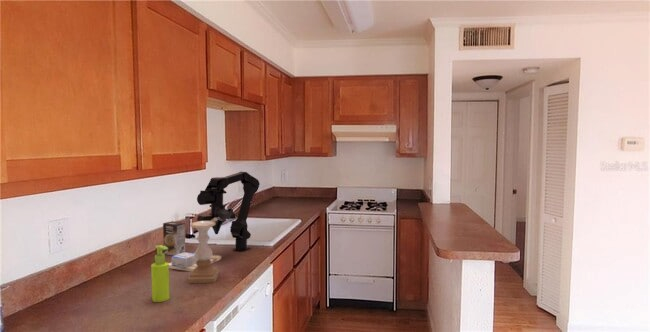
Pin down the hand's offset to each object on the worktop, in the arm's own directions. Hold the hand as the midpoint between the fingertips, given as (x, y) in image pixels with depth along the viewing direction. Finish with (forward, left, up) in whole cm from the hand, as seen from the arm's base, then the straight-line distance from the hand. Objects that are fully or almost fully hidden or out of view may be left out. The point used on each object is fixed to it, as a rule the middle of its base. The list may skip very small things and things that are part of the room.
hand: (216, 234), depth 189 cm
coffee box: (+2, -25, -12) cm, 28 cm away
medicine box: (+13, -5, -8) cm, 16 cm away
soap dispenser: (+49, +11, -12) cm, 51 cm away
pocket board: (+11, -5, -12) cm, 17 cm away
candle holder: (+26, +12, -12) cm, 31 cm away
